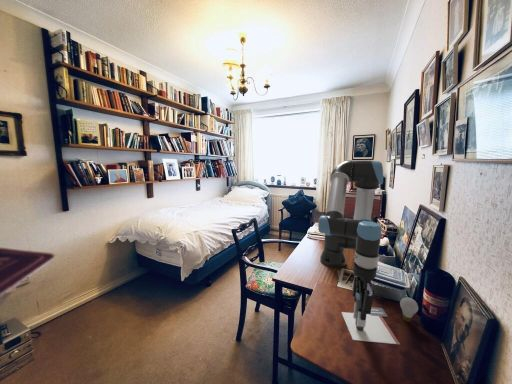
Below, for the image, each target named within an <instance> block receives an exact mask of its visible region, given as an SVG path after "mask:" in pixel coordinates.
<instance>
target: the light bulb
mask: <svg viewBox="0 0 512 384" xmlns="http://www.w3.org/2000/svg"><path fill="white" fill-rule="evenodd" d="M399 301H400V302H399V305H400V308H401V310H402V319H403V321H405V322H406V323H409V322H410V323H411V322H412V317H414V315H415V314H416V313H417V312H418V311H419V306H418V303H417V302H416V300H414V299H413V298H411V297H407V296H405V297H403V298H401V299H400V300H399Z"/></svg>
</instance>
